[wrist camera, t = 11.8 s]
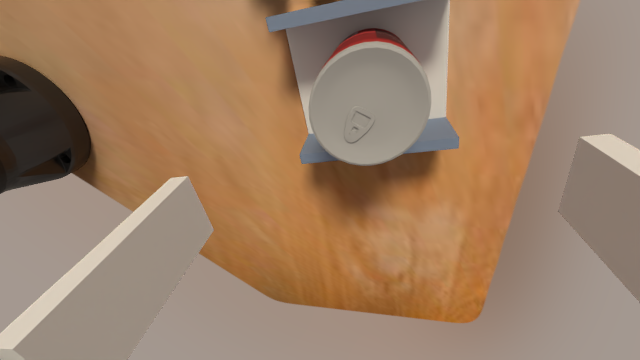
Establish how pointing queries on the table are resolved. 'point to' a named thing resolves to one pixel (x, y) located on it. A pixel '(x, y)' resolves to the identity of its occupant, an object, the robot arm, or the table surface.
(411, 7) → the holder
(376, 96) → the canned food
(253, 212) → the table surface
